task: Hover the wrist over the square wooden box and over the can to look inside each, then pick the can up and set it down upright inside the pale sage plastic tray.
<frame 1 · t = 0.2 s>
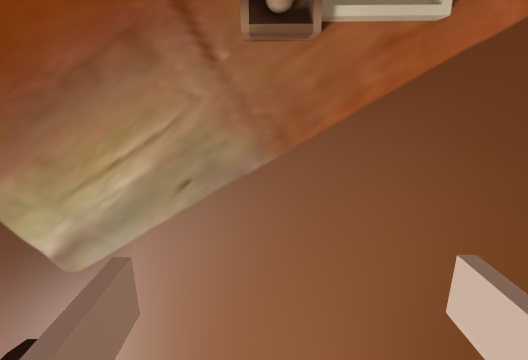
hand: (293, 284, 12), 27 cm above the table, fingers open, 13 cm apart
cork ball: (279, 0, 33), point 1 cm above the table, touching square wooden box
square wooden box: (278, 2, 34), on the table
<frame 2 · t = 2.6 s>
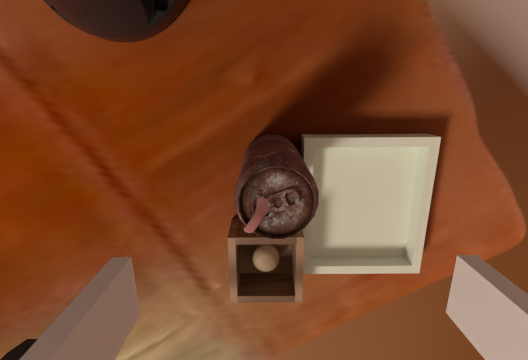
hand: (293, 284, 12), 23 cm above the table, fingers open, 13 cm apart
tray: (358, 201, 35), on the table
can: (270, 160, 34), on the table
cork ball: (265, 250, 37), point 1 cm above the table, touching square wooden box
square wooden box: (265, 247, 37), on the table
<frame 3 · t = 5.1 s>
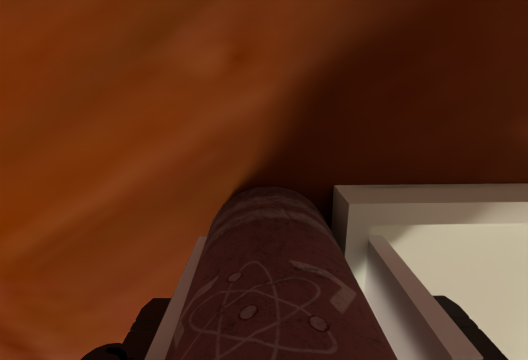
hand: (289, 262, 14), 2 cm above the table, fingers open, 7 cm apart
tray: (444, 314, 17), on the table
can: (266, 237, 16), on the table
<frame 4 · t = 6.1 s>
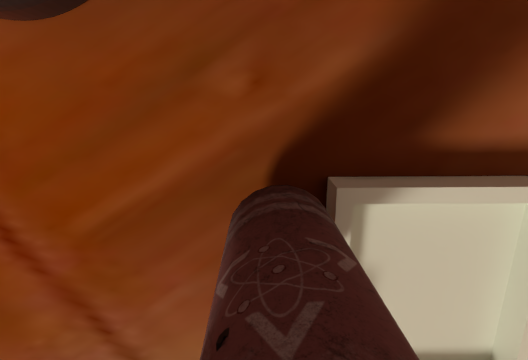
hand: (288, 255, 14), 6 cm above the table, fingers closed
tray: (418, 282, 22), on the table
can: (278, 230, 18), point 2 cm above the table, touching gripper, hand
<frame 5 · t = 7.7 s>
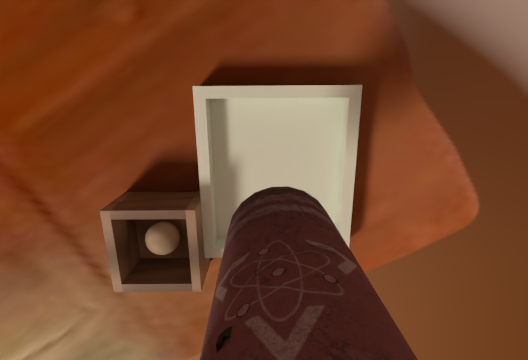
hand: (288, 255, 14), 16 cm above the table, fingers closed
tray: (275, 171, 29), on the table
can: (277, 232, 18), point 12 cm above the table, touching gripper, hand
cork ball: (167, 230, 31), point 1 cm above the table, touching square wooden box
square wooden box: (169, 227, 31), on the table
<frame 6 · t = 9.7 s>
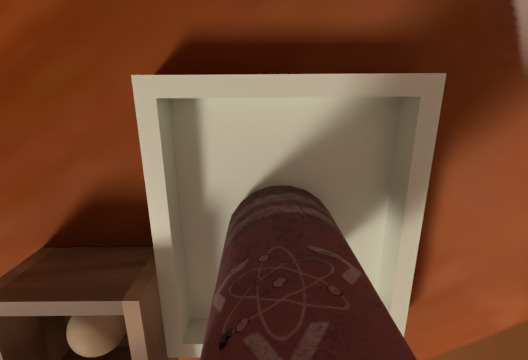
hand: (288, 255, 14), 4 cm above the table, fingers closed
tray: (283, 216, 18), on the table
can: (278, 231, 18), resting on tray, touching hand
cork ball: (111, 307, 19), point 1 cm above the table, touching square wooden box
square wooden box: (116, 300, 20), on the table
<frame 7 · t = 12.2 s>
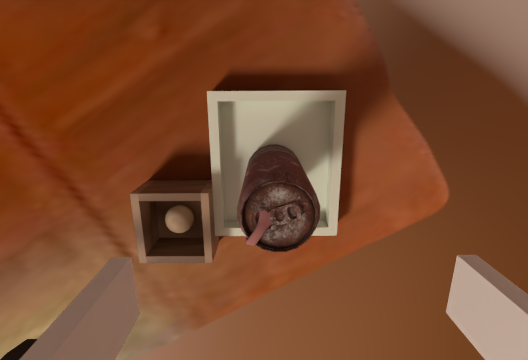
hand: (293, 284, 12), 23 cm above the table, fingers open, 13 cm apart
tray: (275, 162, 35), on the table
can: (272, 170, 35), resting on tray
cork ball: (183, 213, 36), point 1 cm above the table, touching square wooden box
square wooden box: (184, 211, 36), on the table
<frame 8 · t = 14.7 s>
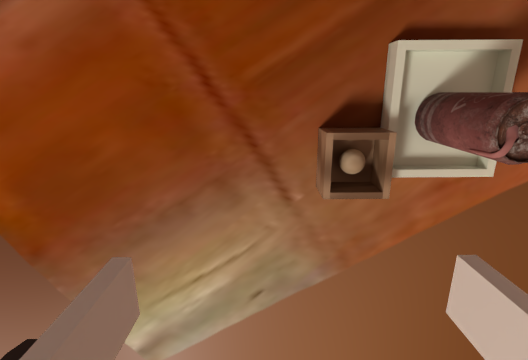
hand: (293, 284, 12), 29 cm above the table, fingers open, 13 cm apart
tray: (436, 111, 38), on the table
can: (435, 118, 38), resting on tray
cork ball: (348, 158, 39), point 1 cm above the table, touching square wooden box
square wooden box: (347, 157, 40), on the table
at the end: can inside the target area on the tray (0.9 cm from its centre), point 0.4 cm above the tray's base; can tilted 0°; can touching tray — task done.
